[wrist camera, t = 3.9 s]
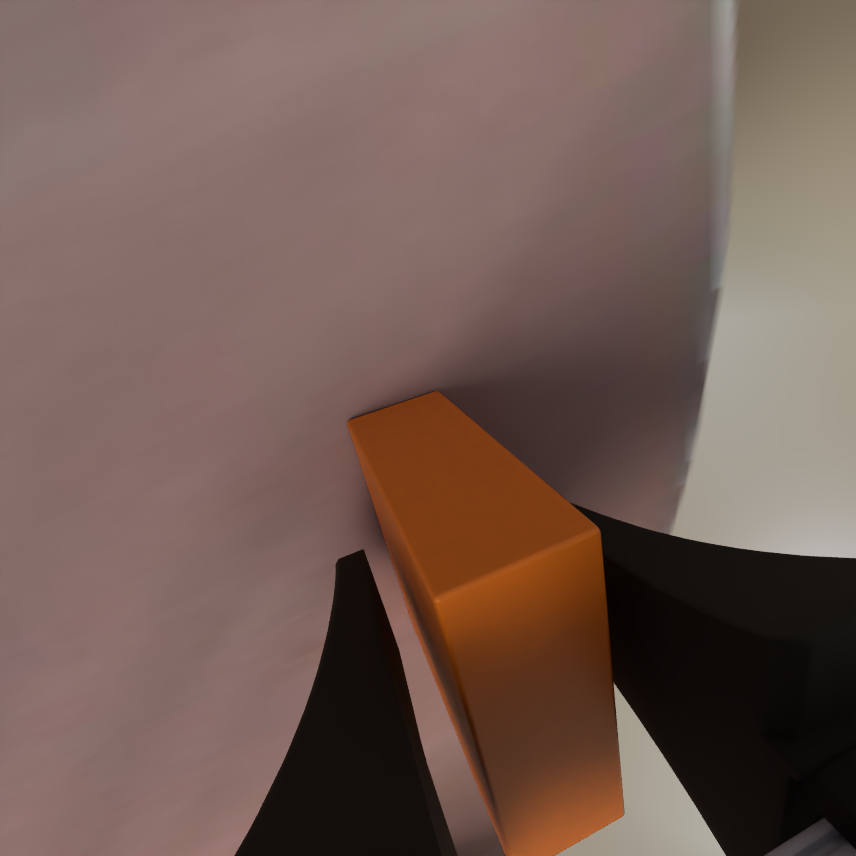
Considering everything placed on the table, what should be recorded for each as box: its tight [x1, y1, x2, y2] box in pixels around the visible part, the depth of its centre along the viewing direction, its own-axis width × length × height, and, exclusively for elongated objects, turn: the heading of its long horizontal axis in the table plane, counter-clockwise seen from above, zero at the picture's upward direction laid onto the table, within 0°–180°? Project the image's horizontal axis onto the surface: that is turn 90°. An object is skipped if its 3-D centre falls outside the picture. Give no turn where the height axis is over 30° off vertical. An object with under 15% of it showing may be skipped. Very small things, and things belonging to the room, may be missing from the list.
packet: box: [347, 391, 624, 856], centre depth 10 cm, size 2×7×6 cm, turn 13°
